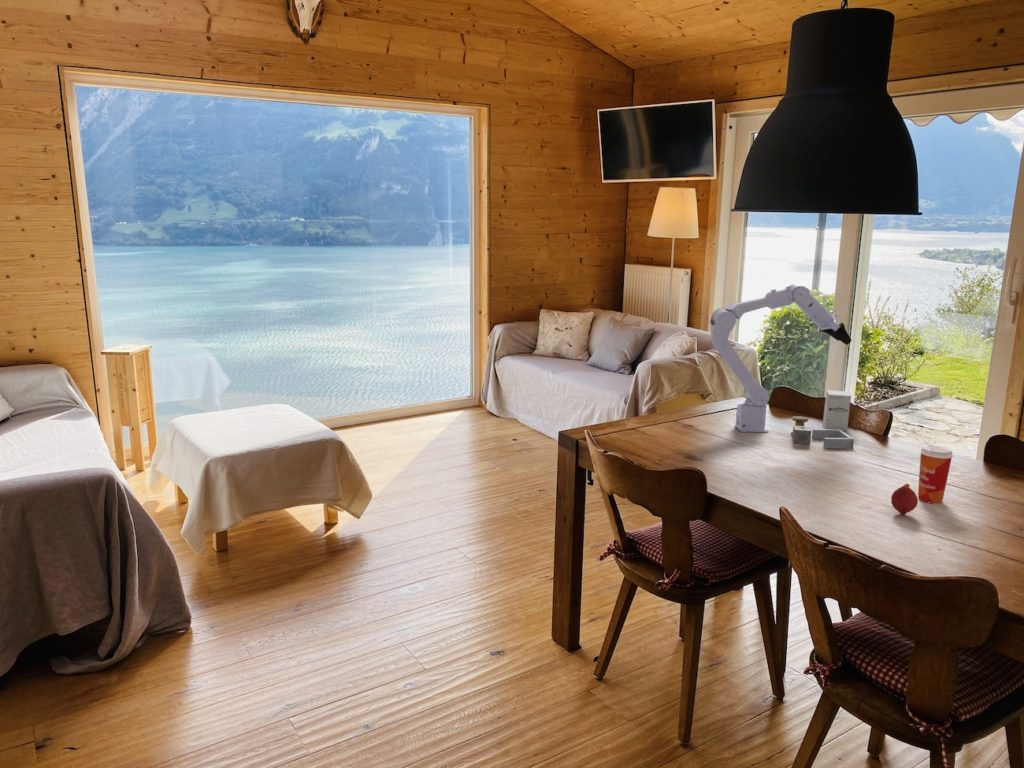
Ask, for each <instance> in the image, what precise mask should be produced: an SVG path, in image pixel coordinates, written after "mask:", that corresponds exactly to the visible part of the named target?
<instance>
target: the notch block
mask: <svg viewBox="0 0 1024 768" xmlns="http://www.w3.org/2000/svg"><path fill="white" fill-rule="evenodd" d="M811 439H812V440H813V439H814V440H819V439H820V440H821V439H823V449H853V448H854V444H855V443H854V442H855V438H853V437H851V436H850V435H849V434H847V433H846V432H845V431H842V430H840V429H825V428H821V429H820V428H812V431H811Z"/></svg>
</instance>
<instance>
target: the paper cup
mask: <svg viewBox="0 0 1024 768" xmlns="http://www.w3.org/2000/svg"><path fill="white" fill-rule="evenodd" d="M919 453H920V458H919V461H920V462H919V473H918V474H919V475H918V477H919V478H918V489H917V490H918V492H917V499H918V498H919V499H920V500H919V499H918V500H919V501H921V500H922V501H921V502H923V501H925V502H924V503H926V502H930V503H929V504H931V503H940V502H942V503H943V500H944V496H945V492H946V487H947V486H946V485H947V482H948V477H949V472H950V466H951V463H952V458H953V457H954V454H953V450H952V449H951V448H949V447H946V446H943V445H936V444H935V445H934V444H932V445H931V444H929V445H925V444H924V445H922V446H921V449H920V450H919ZM940 504H941V503H940Z"/></svg>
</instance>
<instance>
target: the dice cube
mask: <svg viewBox="0 0 1024 768" xmlns="http://www.w3.org/2000/svg"><path fill="white" fill-rule="evenodd" d="M792 432H793V434H792V436H791V441H792V444H793V445H796V444H799V445H798V446H809V445H810V446H811V439H812V429H811V427H810V426H805V425H804V426H795V425H792Z"/></svg>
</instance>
